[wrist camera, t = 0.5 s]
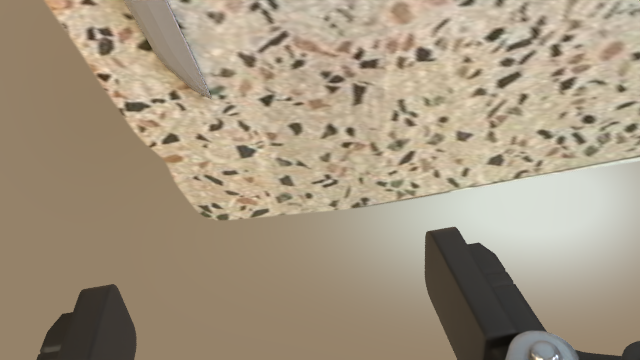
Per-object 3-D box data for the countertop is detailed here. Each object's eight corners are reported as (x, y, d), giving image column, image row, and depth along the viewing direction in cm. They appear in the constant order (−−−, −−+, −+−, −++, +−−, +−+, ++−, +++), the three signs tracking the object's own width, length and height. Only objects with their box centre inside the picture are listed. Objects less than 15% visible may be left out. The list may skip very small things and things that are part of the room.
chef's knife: (181, 103, 46) (212, 97, 46) (179, 112, 46) (212, 106, 45) (61, -122, 32) (107, -132, 31) (56, -114, 31) (103, -125, 31)
